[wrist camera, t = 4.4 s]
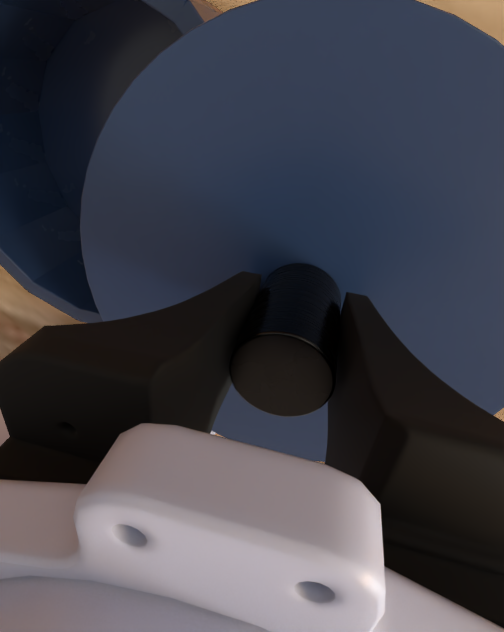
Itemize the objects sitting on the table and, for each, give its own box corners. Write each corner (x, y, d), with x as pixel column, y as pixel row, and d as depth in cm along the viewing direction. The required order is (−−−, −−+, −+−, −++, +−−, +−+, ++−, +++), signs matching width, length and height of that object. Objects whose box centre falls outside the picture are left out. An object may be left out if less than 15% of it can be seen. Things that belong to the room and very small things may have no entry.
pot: (310, 308, 24) (296, 373, 18) (19, 244, 26) (-67, 286, 21) (380, 7, 16) (393, -30, 11) (-45, -43, 18) (-209, -93, 13)
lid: (449, 479, 17) (482, 615, 12) (115, 393, 19) (45, 486, 14) (731, 34, 8) (1128, -11, 4) (67, -32, 10) (-135, -110, 6)
